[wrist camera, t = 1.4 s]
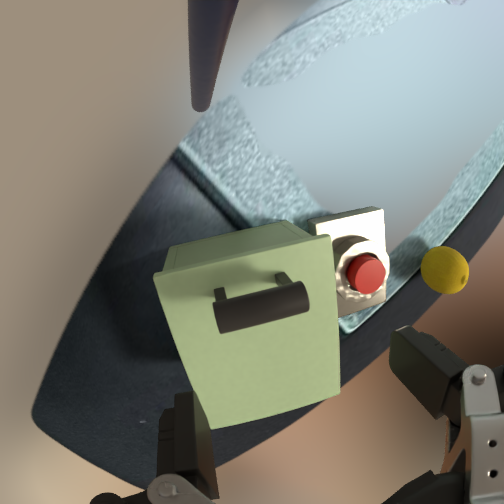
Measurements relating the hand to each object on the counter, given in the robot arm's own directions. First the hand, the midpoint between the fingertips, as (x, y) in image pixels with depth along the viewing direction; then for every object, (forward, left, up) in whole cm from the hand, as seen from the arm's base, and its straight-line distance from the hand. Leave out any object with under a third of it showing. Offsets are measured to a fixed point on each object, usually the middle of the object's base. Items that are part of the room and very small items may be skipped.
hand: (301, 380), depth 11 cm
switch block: (+5, +12, -20) cm, 24 cm away
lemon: (+8, +24, -20) cm, 32 cm away
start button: (+5, +12, -16) cm, 21 cm away
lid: (+5, 0, -10) cm, 11 cm away
